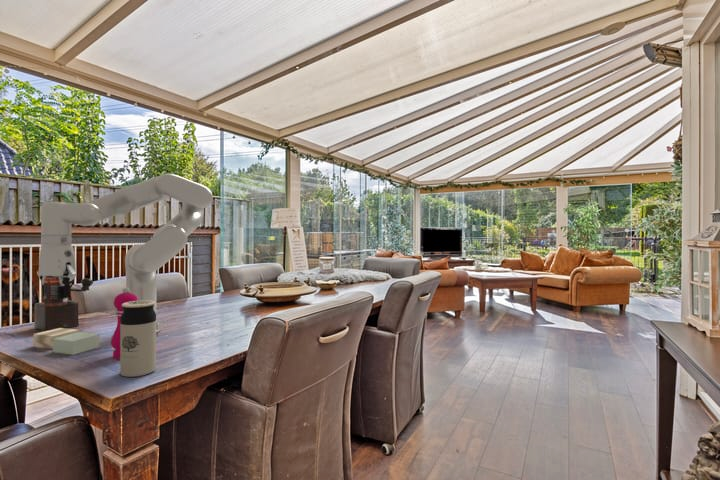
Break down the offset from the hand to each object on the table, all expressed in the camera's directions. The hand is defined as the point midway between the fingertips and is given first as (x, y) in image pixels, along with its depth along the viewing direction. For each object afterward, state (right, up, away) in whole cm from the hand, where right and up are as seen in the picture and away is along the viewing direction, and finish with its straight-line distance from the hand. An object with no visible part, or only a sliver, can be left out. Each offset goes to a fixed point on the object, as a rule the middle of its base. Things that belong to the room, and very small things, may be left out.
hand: (56, 297), depth 120 cm
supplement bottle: (0, -3, 0) cm, 3 cm away
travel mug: (+39, -16, -22) cm, 48 cm away
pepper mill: (+28, -16, -10) cm, 34 cm away
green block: (+10, -15, -5) cm, 19 cm away
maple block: (0, -15, 0) cm, 15 cm away
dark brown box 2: (-15, -15, +23) cm, 32 cm away
